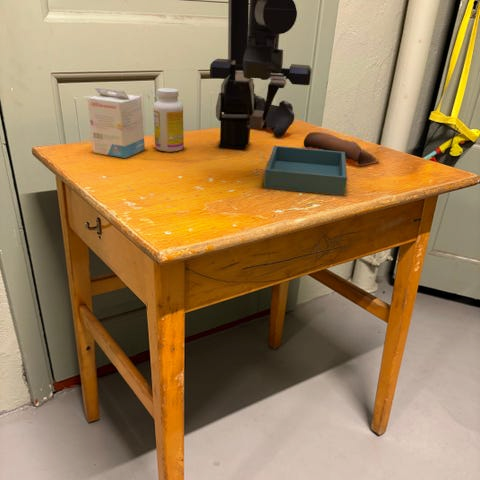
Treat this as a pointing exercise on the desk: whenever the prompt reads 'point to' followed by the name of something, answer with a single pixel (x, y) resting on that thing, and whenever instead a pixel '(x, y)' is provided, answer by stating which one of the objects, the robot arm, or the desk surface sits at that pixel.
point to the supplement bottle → (168, 121)
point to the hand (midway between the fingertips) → (258, 119)
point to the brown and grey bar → (256, 120)
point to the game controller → (277, 116)
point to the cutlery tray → (306, 170)
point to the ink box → (116, 123)
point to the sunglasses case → (339, 147)
